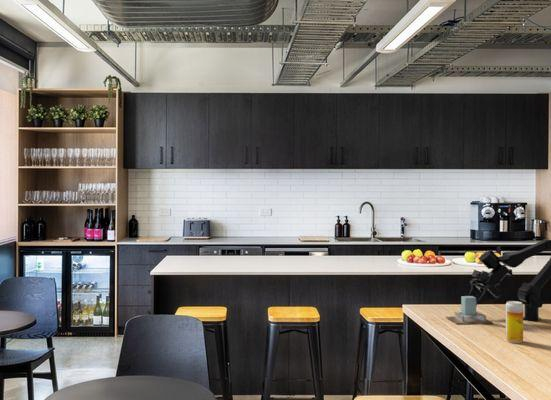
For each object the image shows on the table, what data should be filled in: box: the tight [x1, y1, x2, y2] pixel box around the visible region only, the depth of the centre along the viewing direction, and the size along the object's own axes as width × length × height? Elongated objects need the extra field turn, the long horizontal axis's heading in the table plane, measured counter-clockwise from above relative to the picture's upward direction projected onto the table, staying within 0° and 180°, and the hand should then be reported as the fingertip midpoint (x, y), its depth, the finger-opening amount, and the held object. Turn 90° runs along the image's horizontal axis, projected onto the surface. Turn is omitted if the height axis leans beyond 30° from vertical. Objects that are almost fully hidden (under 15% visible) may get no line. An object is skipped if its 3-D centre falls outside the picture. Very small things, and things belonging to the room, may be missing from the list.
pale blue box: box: [460, 295, 478, 316], centre depth 234 cm, size 6×4×10 cm, turn 94°
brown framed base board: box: [445, 311, 494, 326], centre depth 234 cm, size 16×12×3 cm
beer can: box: [505, 300, 524, 344], centre depth 201 cm, size 6×6×15 cm
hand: (472, 301), depth 234 cm, fingers open, 9 cm apart
